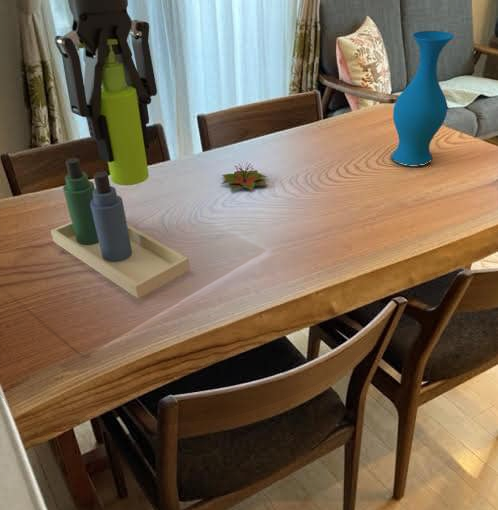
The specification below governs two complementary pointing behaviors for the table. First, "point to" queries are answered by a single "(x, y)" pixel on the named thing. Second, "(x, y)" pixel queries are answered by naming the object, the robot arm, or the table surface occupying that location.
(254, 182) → the lily flower
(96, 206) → the smoky-blue bottle
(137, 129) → the soap dispenser
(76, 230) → the green bottle
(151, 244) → the tray
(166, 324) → the table surface
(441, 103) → the vase
